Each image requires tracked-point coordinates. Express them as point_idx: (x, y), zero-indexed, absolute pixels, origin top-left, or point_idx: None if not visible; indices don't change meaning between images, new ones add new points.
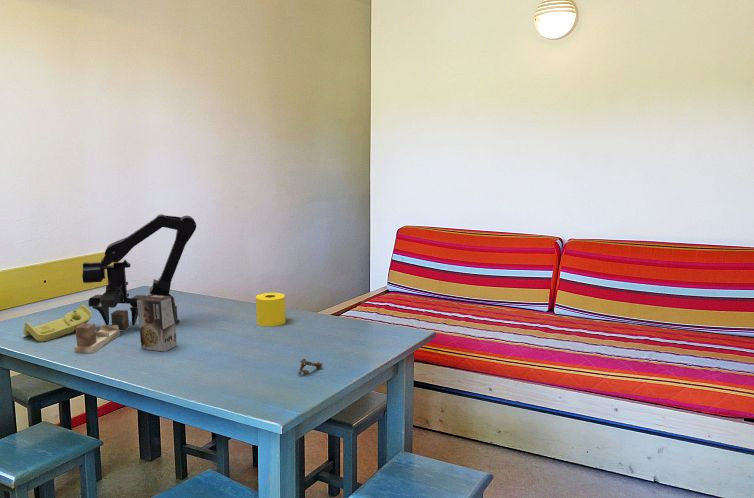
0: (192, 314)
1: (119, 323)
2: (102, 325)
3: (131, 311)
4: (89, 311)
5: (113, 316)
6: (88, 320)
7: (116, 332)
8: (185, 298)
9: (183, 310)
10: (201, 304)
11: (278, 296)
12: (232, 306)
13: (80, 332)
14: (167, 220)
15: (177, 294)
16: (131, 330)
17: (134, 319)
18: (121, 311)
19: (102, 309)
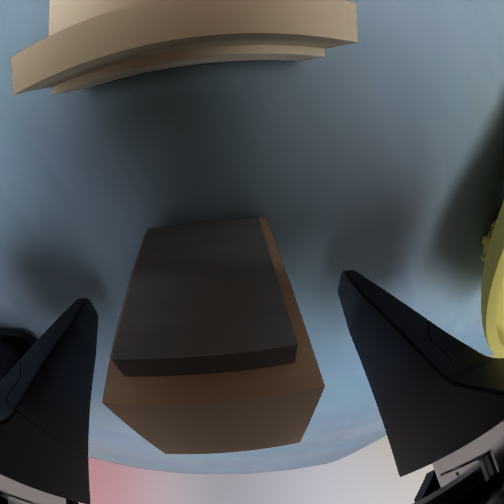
0: None
1: (159, 263)
2: (315, 13)
3: (8, 417)
4: (498, 345)
5: (250, 338)
6: (493, 258)
7: (57, 23)
8: (205, 469)
9: (127, 442)
10: (127, 456)
11: None
12: None
13: None
14: None
15: (243, 471)
16: (85, 247)
17: (39, 340)
18: (207, 442)
19: (468, 398)
